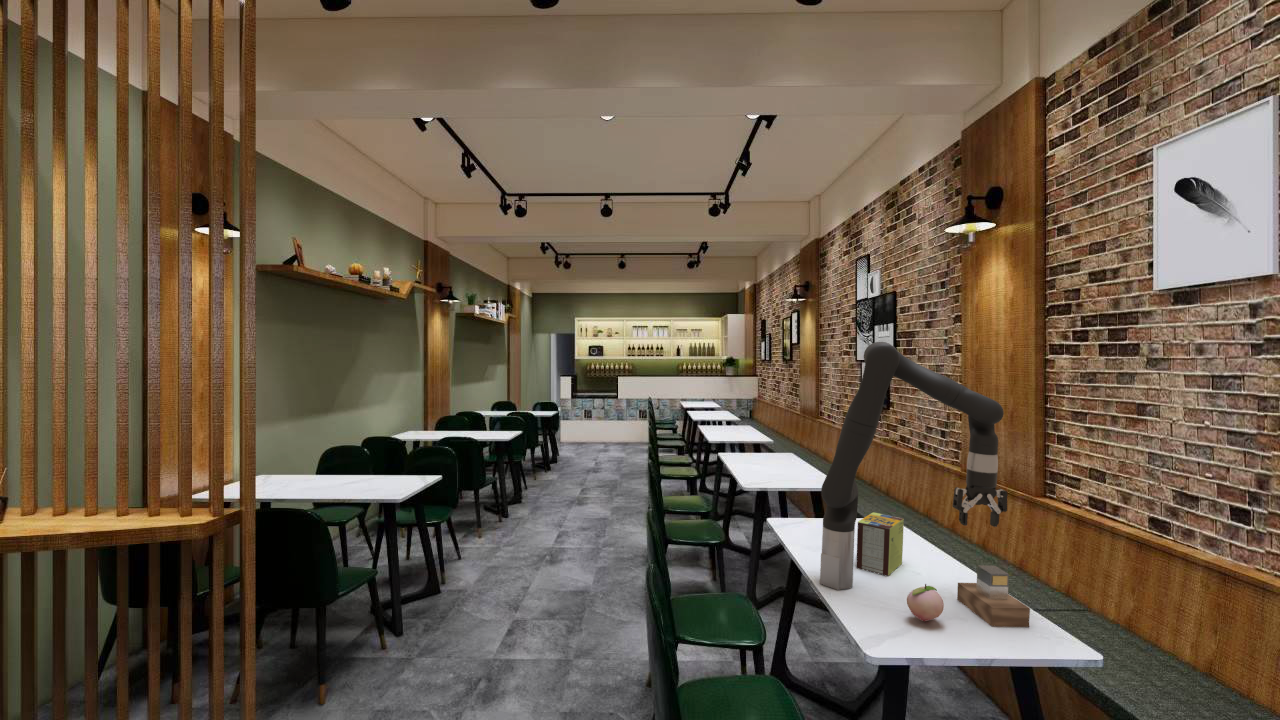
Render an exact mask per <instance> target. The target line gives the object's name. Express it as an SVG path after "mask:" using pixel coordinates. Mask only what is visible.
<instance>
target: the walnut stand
mask: <svg viewBox="0 0 1280 720" xmlns="http://www.w3.org/2000/svg"><path fill="white" fill-rule="evenodd" d="M976 586H977V582H957V590H956V591H957V592H956V593H957V597H956V598H957V599H956V600H957V602H959V603H961V604H962V606H965V608H967V609H969V610H970V611H971V612H972V613H974V614H975V615H976V616H978V617H979V618H981V620H983V621H984V622H985V623H986V624H988V625H989V626H990V627H997V628H998V627H1006V628H1008V627H1009V628H1011V627H1012V628H1015V627H1017V628H1030V617H1031V615H1030V614H1031V608H1030V607H1029V606H1027V605H1026V604H1024V603H1022V601H1020V600H1019V599H1017V598H1015V597H1014V596H1012V595H1010V594H1009V593H1008V600H1001V599H988V598H987V597H986V596H984V595H983V594H981V593H980V592H978V591H977V590H976Z"/></svg>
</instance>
